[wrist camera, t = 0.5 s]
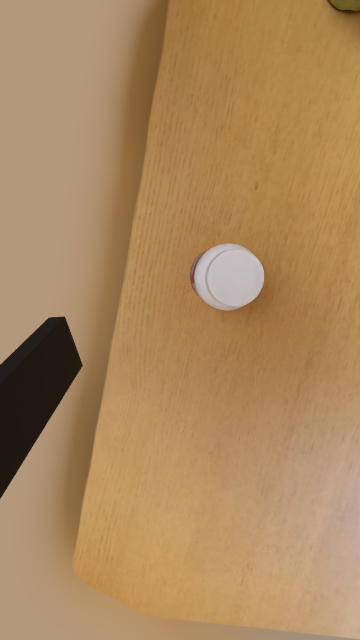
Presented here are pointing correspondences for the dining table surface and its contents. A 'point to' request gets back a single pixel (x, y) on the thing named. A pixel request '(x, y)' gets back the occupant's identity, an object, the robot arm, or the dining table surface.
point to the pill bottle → (227, 276)
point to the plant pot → (346, 4)
